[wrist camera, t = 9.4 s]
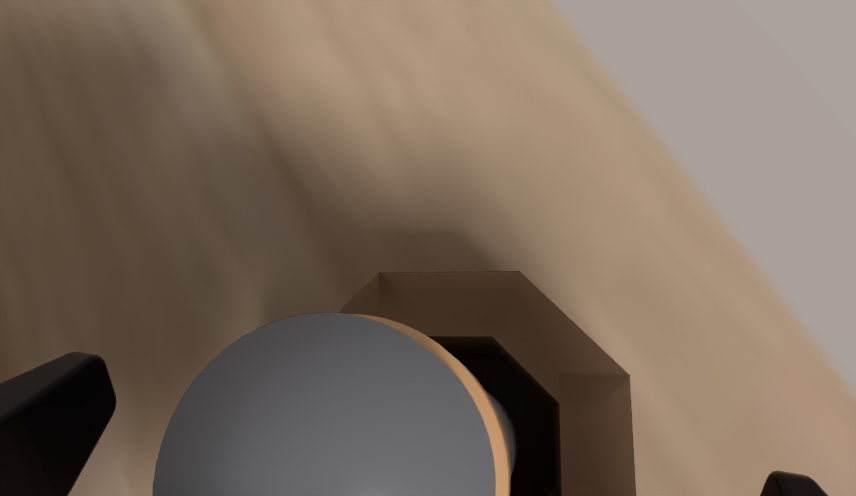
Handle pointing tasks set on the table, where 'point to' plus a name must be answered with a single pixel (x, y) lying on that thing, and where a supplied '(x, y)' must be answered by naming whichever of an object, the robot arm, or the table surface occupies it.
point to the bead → (525, 362)
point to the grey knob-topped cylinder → (337, 417)
